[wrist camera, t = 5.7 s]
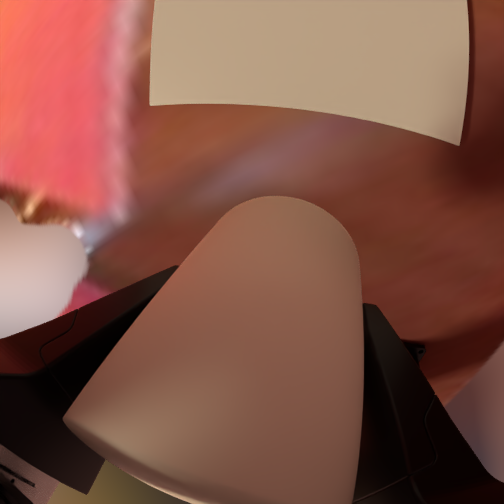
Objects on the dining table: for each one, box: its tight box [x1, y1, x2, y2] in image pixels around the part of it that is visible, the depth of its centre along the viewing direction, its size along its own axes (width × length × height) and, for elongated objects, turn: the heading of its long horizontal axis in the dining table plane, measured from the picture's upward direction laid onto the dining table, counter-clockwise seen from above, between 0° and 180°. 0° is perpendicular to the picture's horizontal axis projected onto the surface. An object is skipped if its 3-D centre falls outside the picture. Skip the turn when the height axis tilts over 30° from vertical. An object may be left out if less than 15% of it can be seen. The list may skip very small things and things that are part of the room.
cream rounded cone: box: [63, 196, 364, 504], centre depth 6 cm, size 5×5×7 cm
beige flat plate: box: [150, 0, 469, 146], centre depth 11 cm, size 20×14×1 cm
